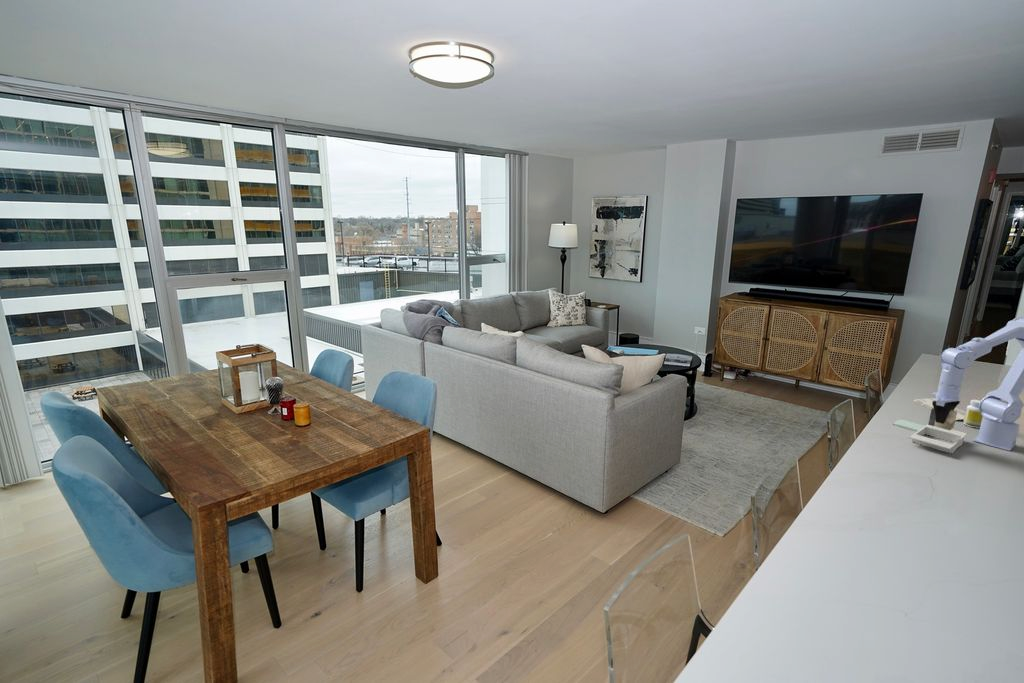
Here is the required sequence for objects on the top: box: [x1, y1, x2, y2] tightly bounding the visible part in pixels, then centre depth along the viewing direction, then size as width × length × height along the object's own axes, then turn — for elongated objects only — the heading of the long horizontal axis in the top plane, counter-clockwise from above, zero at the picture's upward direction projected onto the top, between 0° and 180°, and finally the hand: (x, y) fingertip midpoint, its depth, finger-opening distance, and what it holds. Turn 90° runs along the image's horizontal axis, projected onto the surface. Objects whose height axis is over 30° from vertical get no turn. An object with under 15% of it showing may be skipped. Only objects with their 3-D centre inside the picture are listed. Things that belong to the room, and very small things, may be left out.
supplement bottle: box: [962, 399, 983, 429], centre depth 188 cm, size 5×5×10 cm
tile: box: [892, 418, 925, 432], centre depth 189 cm, size 8×7×1 cm
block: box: [927, 407, 957, 430], centre depth 172 cm, size 6×4×6 cm, turn 36°
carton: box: [908, 423, 968, 454], centre depth 174 cm, size 11×20×3 cm, turn 126°
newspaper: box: [913, 397, 966, 421], centre depth 204 cm, size 23×12×2 cm, turn 177°
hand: (941, 421), depth 173 cm, fingers closed on block, 4 cm apart
